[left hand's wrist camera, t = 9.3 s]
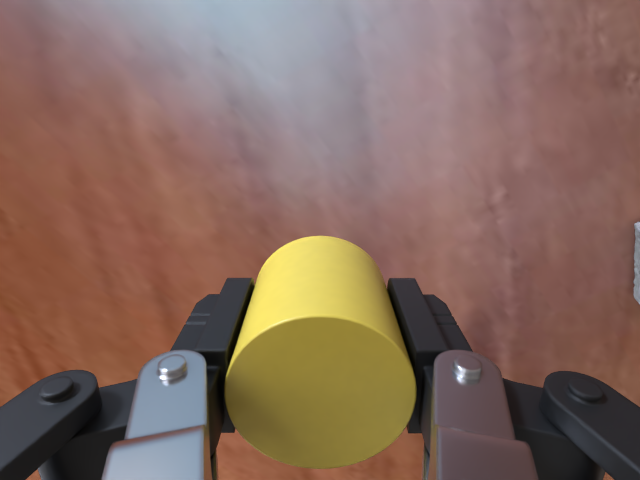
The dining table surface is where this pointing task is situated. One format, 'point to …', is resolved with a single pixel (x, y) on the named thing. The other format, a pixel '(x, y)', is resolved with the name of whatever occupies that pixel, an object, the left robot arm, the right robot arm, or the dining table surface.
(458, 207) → the dining table surface
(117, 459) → the left robot arm
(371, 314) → the cylinder
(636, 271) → the mineral specimen
